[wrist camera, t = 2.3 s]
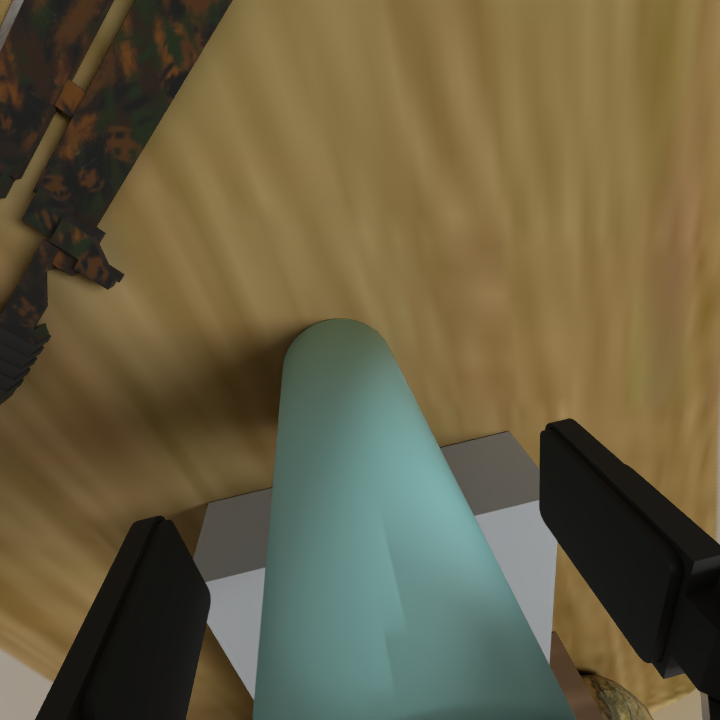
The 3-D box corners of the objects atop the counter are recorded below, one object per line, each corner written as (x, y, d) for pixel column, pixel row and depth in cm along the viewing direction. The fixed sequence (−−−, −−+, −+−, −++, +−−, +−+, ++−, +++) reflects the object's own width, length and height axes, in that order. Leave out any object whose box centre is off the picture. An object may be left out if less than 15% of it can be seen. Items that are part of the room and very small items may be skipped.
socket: (208, 503, 18) (185, 587, 14) (509, 431, 18) (560, 494, 15) (305, 701, 26) (306, 787, 22) (512, 647, 26) (545, 722, 23)
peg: (269, 333, 15) (185, 772, 4) (384, 307, 15) (602, 661, 4) (298, 428, 17) (295, 894, 6) (400, 404, 17) (576, 814, 6)
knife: (291, -511, 8) (290, -642, 7) (478, -148, 10) (502, -193, 9) (-224, 349, 13) (-279, 367, 12) (-17, 450, 16) (-45, 474, 14)
